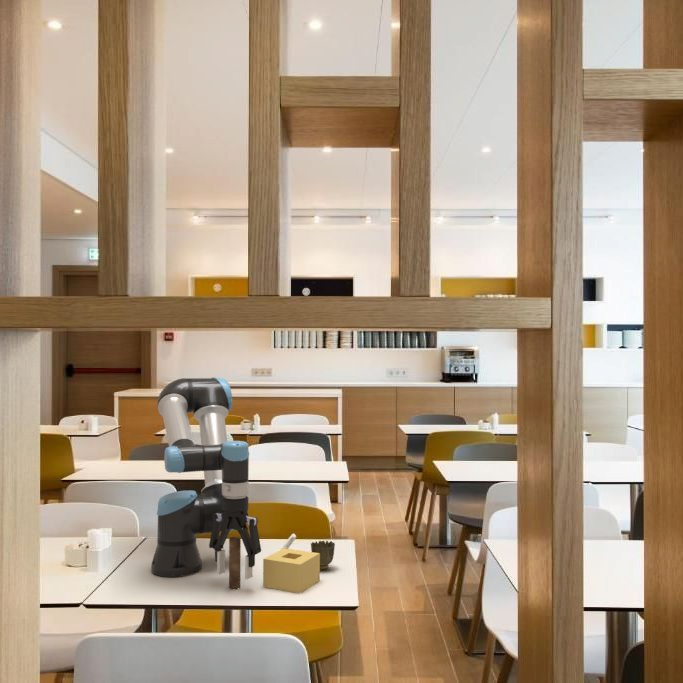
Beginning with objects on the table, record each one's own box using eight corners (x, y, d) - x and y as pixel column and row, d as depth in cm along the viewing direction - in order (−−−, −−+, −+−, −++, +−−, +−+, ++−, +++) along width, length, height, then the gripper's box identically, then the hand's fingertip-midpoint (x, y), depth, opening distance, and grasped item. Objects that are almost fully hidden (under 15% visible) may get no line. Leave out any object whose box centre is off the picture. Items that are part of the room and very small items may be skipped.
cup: (310, 565, 227) (310, 540, 227) (333, 565, 227) (334, 539, 227) (311, 573, 219) (311, 546, 219) (335, 572, 220) (335, 546, 220)
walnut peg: (226, 588, 205) (227, 539, 205) (233, 585, 208) (233, 536, 208) (236, 590, 204) (236, 540, 204) (242, 586, 207) (242, 537, 207)
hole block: (263, 586, 207) (263, 558, 207) (283, 574, 218) (284, 548, 218) (300, 593, 202) (300, 564, 202) (319, 580, 212) (319, 553, 212)
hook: (311, 552, 224) (292, 540, 222) (288, 581, 225) (269, 570, 224) (309, 540, 231) (291, 529, 230) (287, 569, 232) (269, 558, 231)
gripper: (196, 495, 207) (195, 574, 207) (260, 502, 198) (260, 585, 198) (211, 490, 214) (211, 566, 214) (274, 497, 205) (274, 577, 205)
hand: (234, 575), depth 206 cm, fingers open, 9 cm apart
